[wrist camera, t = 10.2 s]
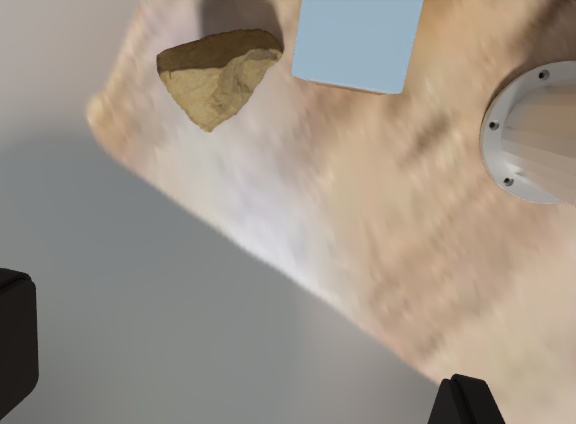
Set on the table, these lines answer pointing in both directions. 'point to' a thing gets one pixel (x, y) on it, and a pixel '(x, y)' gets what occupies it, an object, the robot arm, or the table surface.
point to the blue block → (356, 42)
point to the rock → (217, 73)
